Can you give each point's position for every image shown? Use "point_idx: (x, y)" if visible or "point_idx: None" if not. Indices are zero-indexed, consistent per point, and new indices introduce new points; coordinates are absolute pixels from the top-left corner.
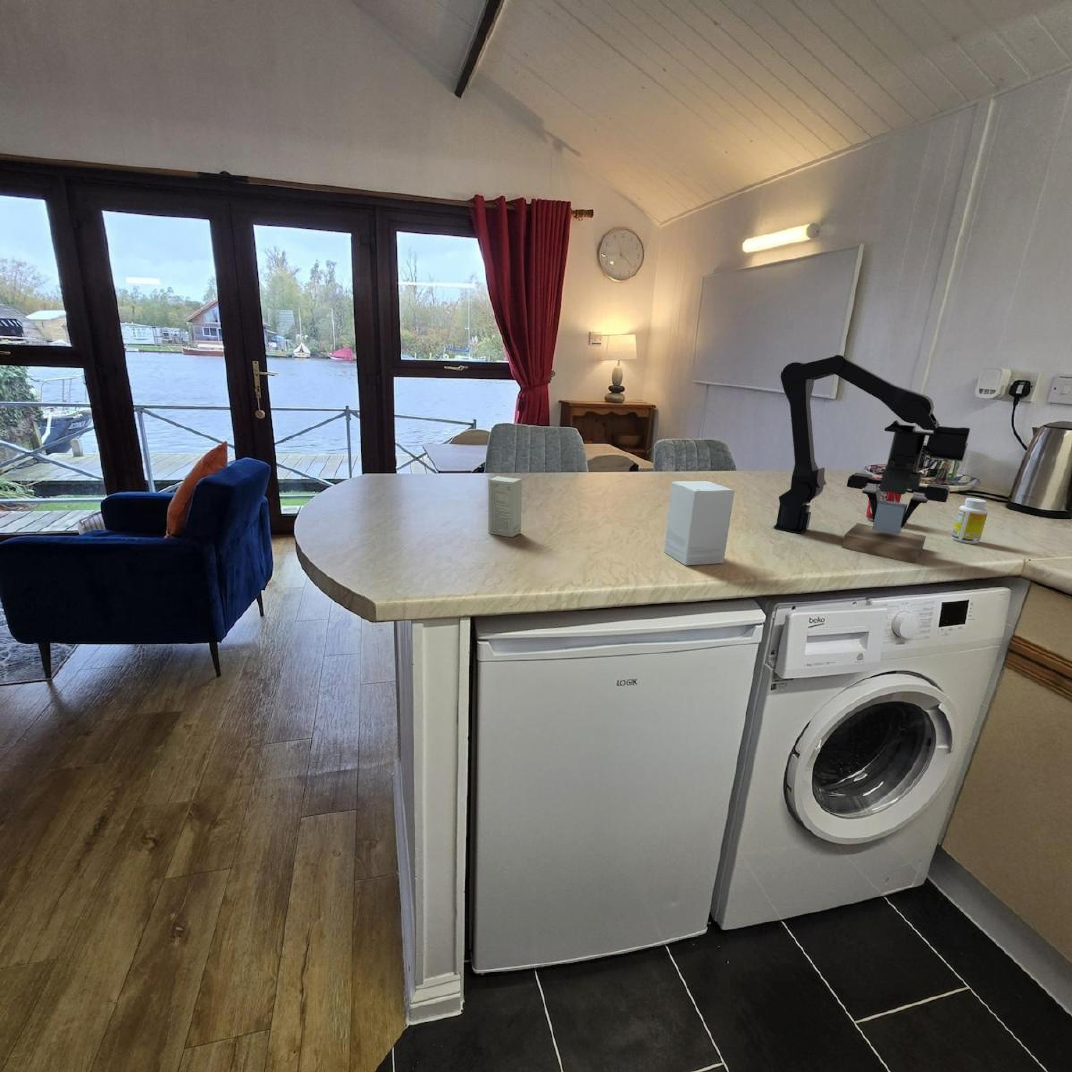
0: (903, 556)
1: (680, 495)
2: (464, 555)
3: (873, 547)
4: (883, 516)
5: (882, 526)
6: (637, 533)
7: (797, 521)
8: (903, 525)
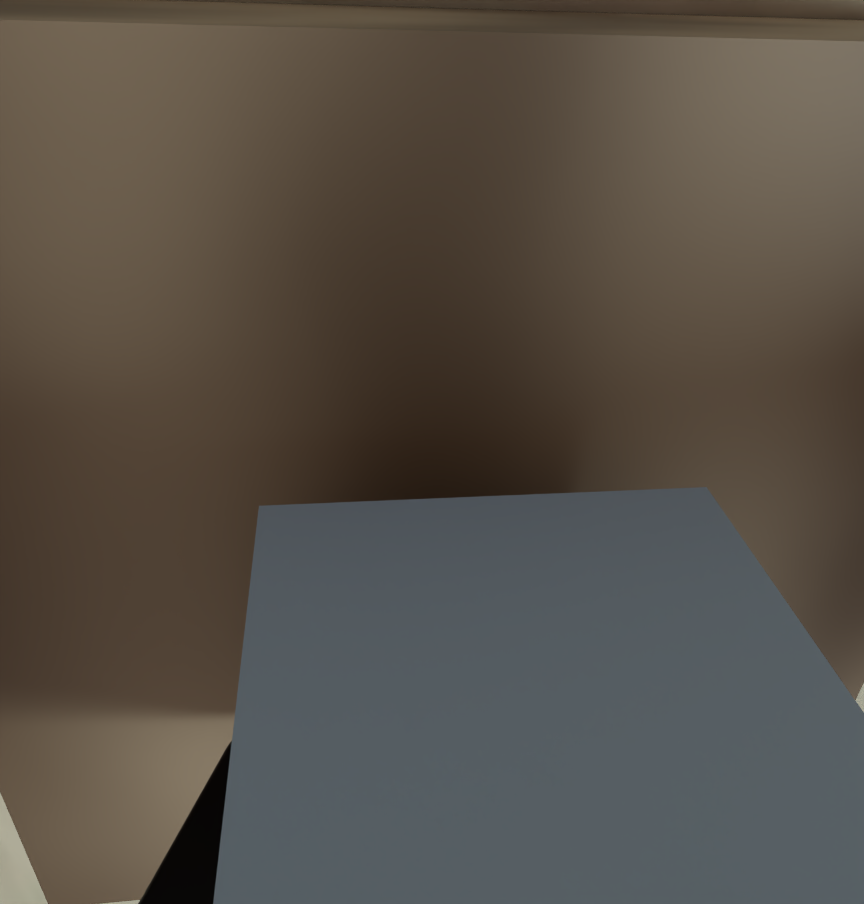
0: (27, 2)
1: None
2: None
3: (558, 22)
4: (689, 753)
5: (578, 561)
6: None
7: None
8: (218, 774)
